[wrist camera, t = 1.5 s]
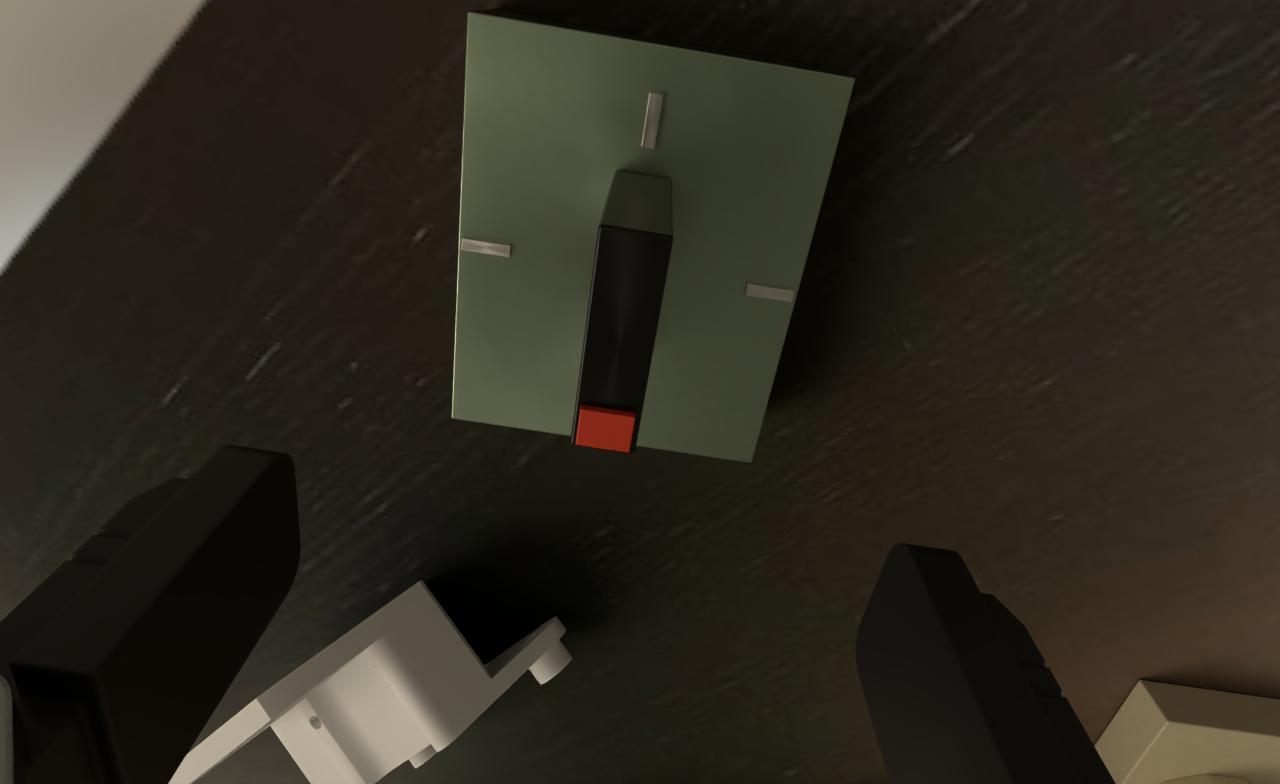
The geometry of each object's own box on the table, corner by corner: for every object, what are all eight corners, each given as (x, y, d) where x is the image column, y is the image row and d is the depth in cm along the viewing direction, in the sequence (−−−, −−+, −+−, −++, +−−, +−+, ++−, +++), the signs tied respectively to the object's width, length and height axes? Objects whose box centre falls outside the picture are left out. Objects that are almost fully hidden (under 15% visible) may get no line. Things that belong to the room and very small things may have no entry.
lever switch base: (491, 8, 21) (465, 10, 18) (833, 67, 22) (858, 78, 19) (472, 377, 27) (449, 421, 24) (743, 418, 27) (752, 466, 25)
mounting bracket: (502, 522, 32) (328, 639, 22) (590, 640, 32) (453, 814, 22) (339, 652, 36) (129, 800, 26) (415, 758, 36) (231, 951, 26)
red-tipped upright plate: (615, 169, 20) (597, 227, 15) (672, 179, 20) (674, 240, 15) (590, 350, 23) (568, 451, 18) (641, 357, 23) (634, 461, 18)
